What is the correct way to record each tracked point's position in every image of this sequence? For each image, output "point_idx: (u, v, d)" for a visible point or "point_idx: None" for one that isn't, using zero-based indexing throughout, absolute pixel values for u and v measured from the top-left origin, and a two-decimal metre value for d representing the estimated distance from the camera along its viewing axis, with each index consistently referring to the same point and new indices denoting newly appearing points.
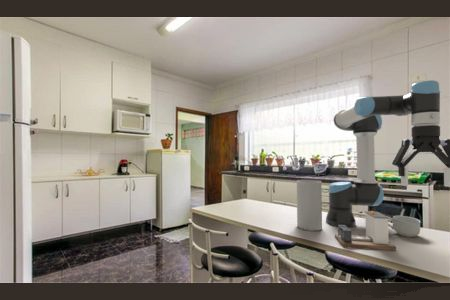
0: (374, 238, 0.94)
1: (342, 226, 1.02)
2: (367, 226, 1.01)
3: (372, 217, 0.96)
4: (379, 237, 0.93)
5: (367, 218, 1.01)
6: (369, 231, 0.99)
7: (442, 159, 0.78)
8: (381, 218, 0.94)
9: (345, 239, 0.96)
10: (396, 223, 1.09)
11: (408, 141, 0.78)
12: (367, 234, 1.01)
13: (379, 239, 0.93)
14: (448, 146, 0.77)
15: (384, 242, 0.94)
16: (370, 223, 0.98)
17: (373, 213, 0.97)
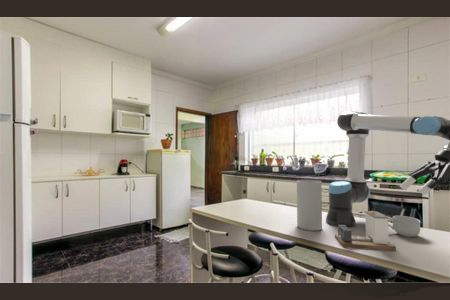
0: (374, 238, 0.94)
1: (342, 226, 1.02)
2: (367, 226, 1.01)
3: (372, 217, 0.96)
4: (379, 237, 0.93)
5: (367, 218, 1.01)
6: (369, 231, 0.99)
7: (420, 174, 0.99)
8: (381, 218, 0.94)
9: (345, 239, 0.96)
10: (396, 223, 1.09)
11: None
12: (367, 234, 1.01)
13: (379, 239, 0.93)
14: None
15: (384, 242, 0.94)
16: (370, 223, 0.98)
17: (373, 213, 0.97)
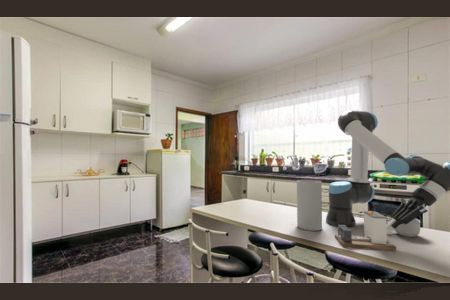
0: (372, 238, 0.95)
1: (342, 226, 1.02)
2: (365, 226, 1.01)
3: (370, 217, 0.96)
4: (377, 237, 0.94)
5: (365, 218, 1.01)
6: (367, 231, 0.99)
7: None
8: (379, 218, 0.94)
9: (345, 239, 0.96)
10: None
11: None
12: (365, 234, 1.01)
13: (377, 239, 0.94)
14: None
15: (382, 242, 0.94)
16: (368, 223, 0.98)
17: (371, 213, 0.97)
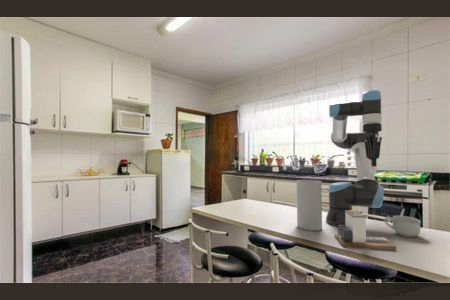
0: (352, 237, 0.96)
1: (342, 226, 1.02)
2: (347, 225, 1.02)
3: (350, 216, 0.97)
4: (357, 235, 0.95)
5: (347, 217, 1.02)
6: None
7: None
8: (359, 217, 0.95)
9: (345, 239, 0.96)
10: (396, 223, 1.09)
11: None
12: None
13: (357, 238, 0.95)
14: None
15: (362, 241, 0.95)
16: (349, 222, 1.00)
17: (352, 212, 0.99)
